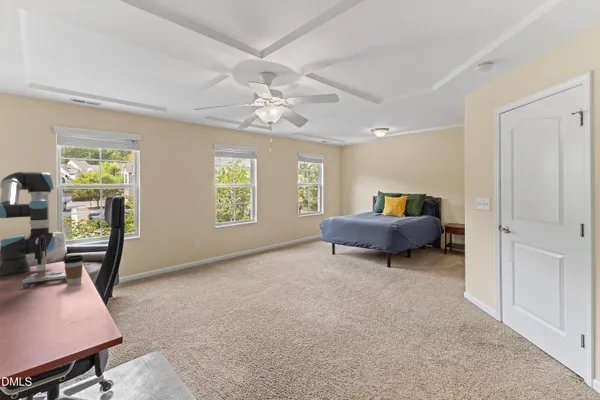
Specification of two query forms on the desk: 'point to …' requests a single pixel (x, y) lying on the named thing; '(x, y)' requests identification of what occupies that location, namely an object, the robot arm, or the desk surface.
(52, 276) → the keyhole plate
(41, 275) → the beech peg
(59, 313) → the desk surface
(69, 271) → the coffee cup
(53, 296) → the desk surface
